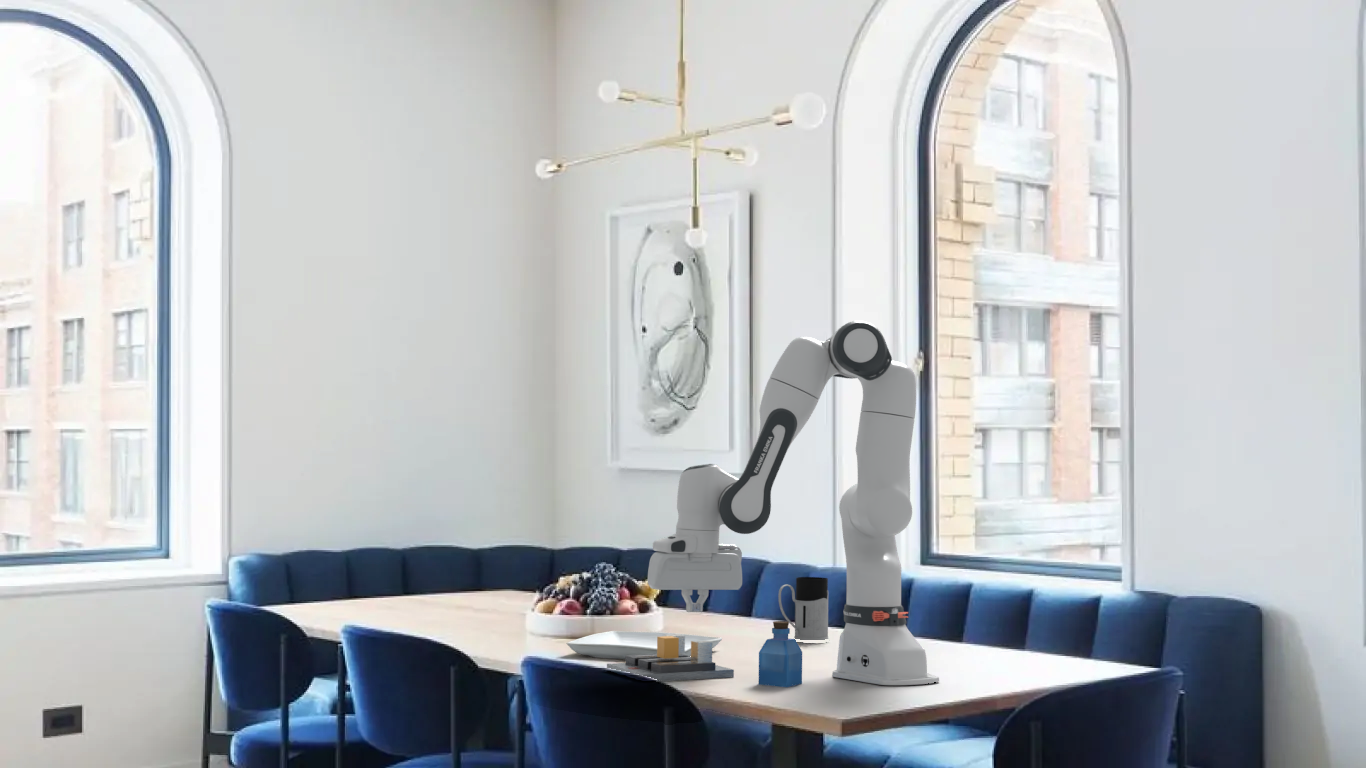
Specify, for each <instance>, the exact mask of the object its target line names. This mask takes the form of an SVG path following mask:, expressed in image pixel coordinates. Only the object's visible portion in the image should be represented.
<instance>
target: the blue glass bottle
mask: <svg viewBox="0 0 1366 768" xmlns="http://www.w3.org/2000/svg"><path fill="white" fill-rule="evenodd" d="M772 623H773V627H772V628H771V633H772V634H773V635H772V636H773V638H768V639H766V640H765V642H764V644H763V645H762V646H761V649H760V650H759V651H758V685H759V686H771V687H777V688H778V687H779V688H790V687H794V686H798V685H802V683H803V651H802V649H801V647H800V646H799V643H797V642H796V640H795V639H794V638H789V634H790V632H791V631H790V630H791V628H790V627H789V625H790V623H789V622H788V621H787V620H786V621H784V620H782V621H781V620H776V621H775V620H774V621H772Z"/></svg>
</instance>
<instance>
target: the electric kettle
mask: <svg viewBox="0 0 1366 768" xmlns="http://www.w3.org/2000/svg"><path fill="white" fill-rule="evenodd" d="M795 579H796V581H795V582H796V584H795V585H796V586H795V589H794V587H793V586H792V585H790V584H787V583H786V584H783V585H781V586H780V588H779V590H778V605H779V609H780V612H781V614H782V616H783V618H784V619H785V620H786V622H789V625H791V626H792V627H793V628H794V637H793V639H794V638H795V639H800V640H825V639H829V590H828V586H829V580H828V579H829V578H827V577H821V576H820V577H819V576H801V577H796V578H795ZM785 587H789V588H790V590H791V597H792V601H793V603H794V622H792V621H791V620H790V619H789V617H788V616H787V615H786V613H785V611H784V607H783V604H782V591H783V589H784V588H785Z"/></svg>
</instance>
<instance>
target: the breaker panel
mask: <svg viewBox="0 0 1366 768" xmlns="http://www.w3.org/2000/svg"><path fill="white" fill-rule="evenodd" d="M679 634H680V633H678V634H672V635H664V636H673V637H677V638H679V654H678V658H666V659H664V658H660V657H657V654H651V655H629V656H626V659H625V662H617V663H606V669H607V668H611V669H616V670H621V671H626V672H630V673H635V674H639V675H643V676H647V677H651V678H654V679H657V680H660V681H659V682H669V681H670V682H672V681H687V680H688V681H692V680H707V679H723V678H725V679H726V678H734V677H735V676H734V675H735V669H733V668H729V667H725V666H722V665H717V664H716V662H714V661H713V648H712V642H709V641H691V657H688V656H687V655H685V636H684V635H679Z"/></svg>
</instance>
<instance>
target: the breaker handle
mask: <svg viewBox="0 0 1366 768" xmlns="http://www.w3.org/2000/svg"><path fill="white" fill-rule="evenodd" d="M678 654H679V638H677V637H673V636H662V637H657V657H660V658H664V659H666V658H678Z"/></svg>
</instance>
